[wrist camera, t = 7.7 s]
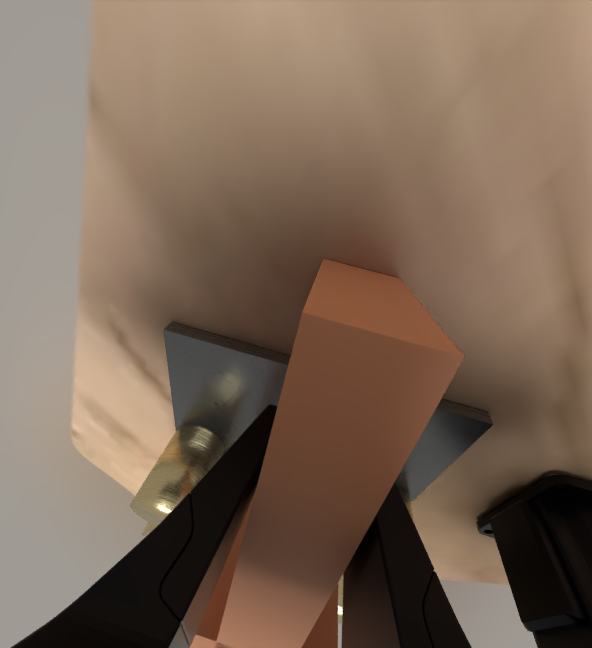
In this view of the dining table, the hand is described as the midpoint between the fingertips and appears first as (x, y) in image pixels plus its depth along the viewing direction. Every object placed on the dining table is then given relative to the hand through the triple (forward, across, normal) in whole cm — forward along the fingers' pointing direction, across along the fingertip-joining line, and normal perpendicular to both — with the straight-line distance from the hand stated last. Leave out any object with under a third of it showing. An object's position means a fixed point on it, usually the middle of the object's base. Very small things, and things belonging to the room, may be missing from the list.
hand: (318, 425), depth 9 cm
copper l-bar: (+2, 0, +3) cm, 3 cm away
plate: (+3, 0, +10) cm, 10 cm away
